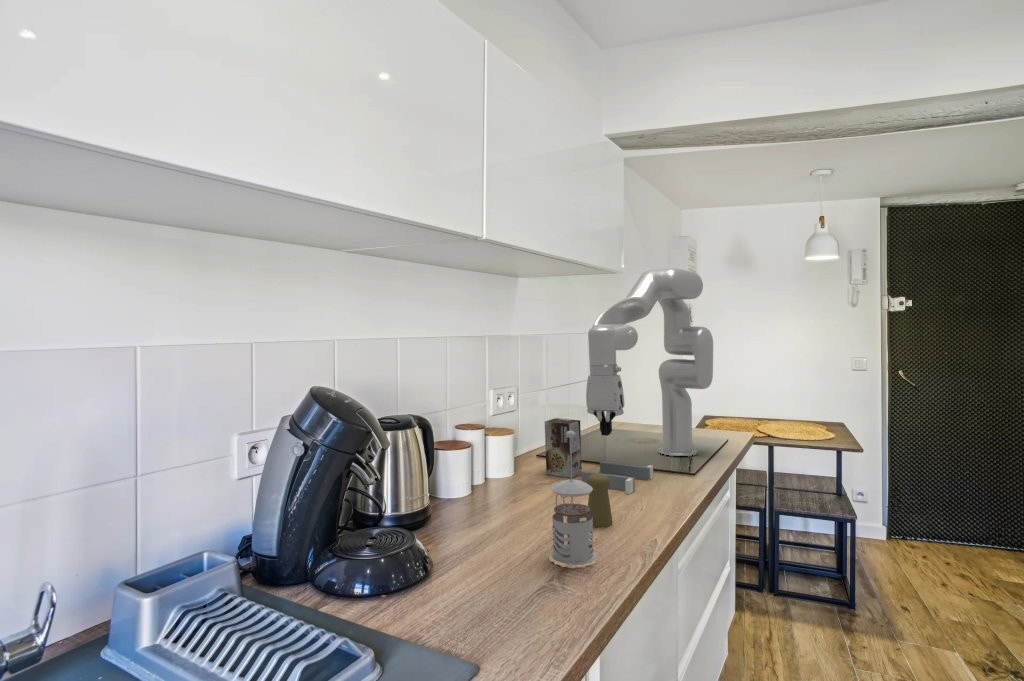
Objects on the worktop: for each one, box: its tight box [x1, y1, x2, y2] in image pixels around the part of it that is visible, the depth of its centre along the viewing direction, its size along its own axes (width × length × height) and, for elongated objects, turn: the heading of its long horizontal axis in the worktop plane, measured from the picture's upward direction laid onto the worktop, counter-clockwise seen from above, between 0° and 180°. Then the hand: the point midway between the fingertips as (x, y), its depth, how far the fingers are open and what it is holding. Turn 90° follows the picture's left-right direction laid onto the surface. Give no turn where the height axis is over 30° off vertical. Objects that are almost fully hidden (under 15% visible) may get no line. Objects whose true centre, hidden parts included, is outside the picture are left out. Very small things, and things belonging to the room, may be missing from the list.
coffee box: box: [544, 417, 583, 479], centre depth 179 cm, size 9×6×16 cm
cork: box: [585, 474, 614, 528], centre depth 137 cm, size 6×6×11 cm
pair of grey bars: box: [581, 461, 654, 495], centre depth 170 cm, size 18×15×4 cm
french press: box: [550, 431, 597, 565], centre depth 118 cm, size 10×12×25 cm
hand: (606, 434), depth 172 cm, fingers closed
